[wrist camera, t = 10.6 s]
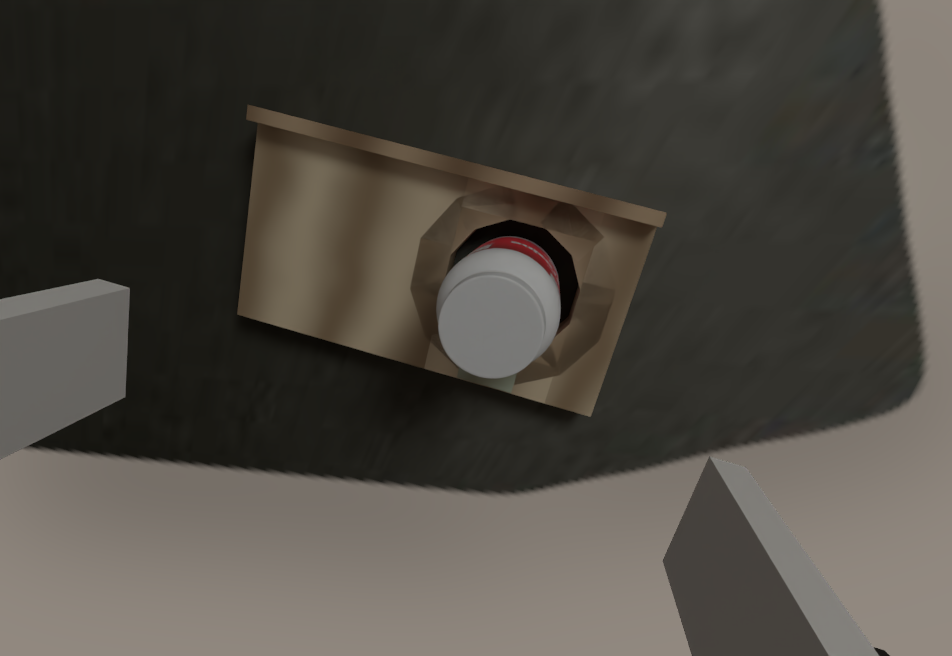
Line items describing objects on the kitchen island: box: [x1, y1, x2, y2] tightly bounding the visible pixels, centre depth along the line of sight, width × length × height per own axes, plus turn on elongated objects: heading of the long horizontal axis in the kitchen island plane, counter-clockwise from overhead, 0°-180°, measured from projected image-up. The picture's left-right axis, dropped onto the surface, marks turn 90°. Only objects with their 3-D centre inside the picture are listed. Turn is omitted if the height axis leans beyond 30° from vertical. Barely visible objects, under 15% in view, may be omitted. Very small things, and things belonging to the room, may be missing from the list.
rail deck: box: [237, 105, 667, 417], centre depth 31 cm, size 24×13×3 cm, turn 76°
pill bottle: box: [436, 236, 561, 379], centre depth 27 cm, size 6×6×11 cm
